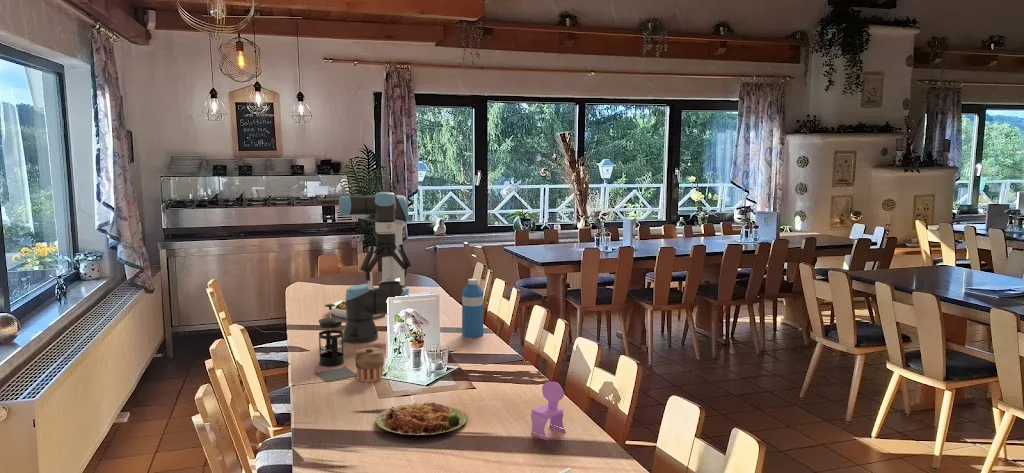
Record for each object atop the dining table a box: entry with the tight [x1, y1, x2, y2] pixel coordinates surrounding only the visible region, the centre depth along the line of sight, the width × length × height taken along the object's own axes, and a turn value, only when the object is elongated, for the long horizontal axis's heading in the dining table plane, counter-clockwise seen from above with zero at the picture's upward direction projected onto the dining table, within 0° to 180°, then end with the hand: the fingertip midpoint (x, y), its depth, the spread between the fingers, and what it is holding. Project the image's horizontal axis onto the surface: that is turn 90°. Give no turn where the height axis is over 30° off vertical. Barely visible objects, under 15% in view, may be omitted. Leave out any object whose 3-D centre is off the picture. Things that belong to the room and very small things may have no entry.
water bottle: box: [461, 278, 484, 339], centre depth 319 cm, size 9×9×25 cm
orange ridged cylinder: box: [356, 366, 384, 383], centre depth 261 cm, size 9×9×5 cm
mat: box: [314, 366, 357, 383], centre depth 265 cm, size 12×12×1 cm
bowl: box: [331, 299, 386, 319], centre depth 361 cm, size 30×30×8 cm
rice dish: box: [375, 402, 468, 436], centre depth 220 cm, size 28×28×5 cm
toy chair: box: [530, 381, 566, 441], centre depth 211 cm, size 8×9×15 cm
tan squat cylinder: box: [354, 347, 385, 369], centre depth 260 cm, size 10×10×6 cm
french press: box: [318, 303, 345, 368], centre depth 277 cm, size 12×9×23 cm
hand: (386, 287), depth 281 cm, fingers open, 13 cm apart
